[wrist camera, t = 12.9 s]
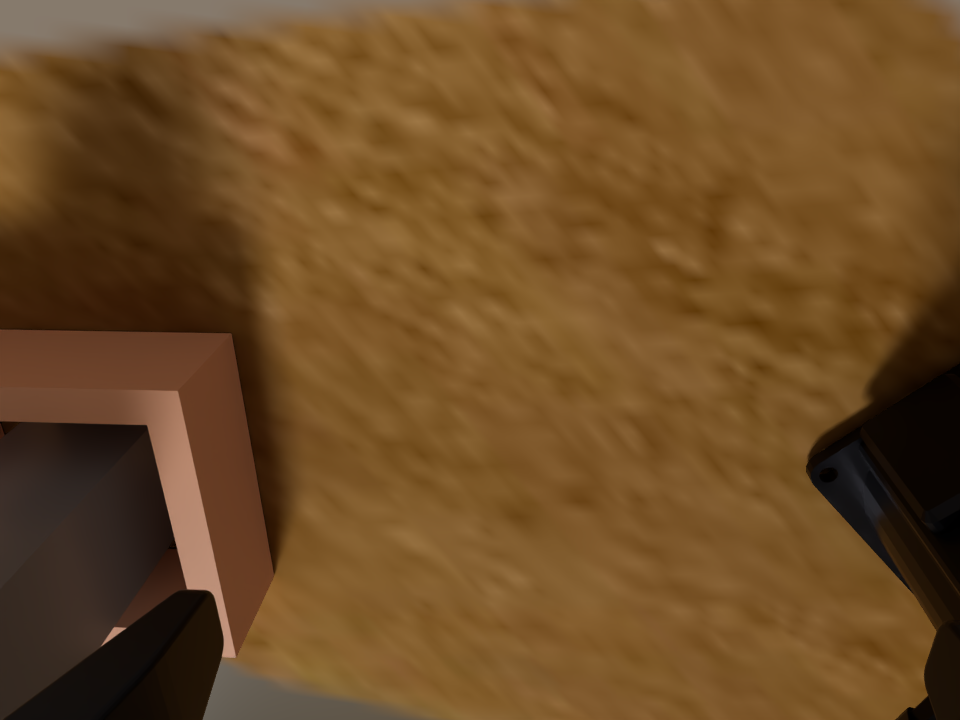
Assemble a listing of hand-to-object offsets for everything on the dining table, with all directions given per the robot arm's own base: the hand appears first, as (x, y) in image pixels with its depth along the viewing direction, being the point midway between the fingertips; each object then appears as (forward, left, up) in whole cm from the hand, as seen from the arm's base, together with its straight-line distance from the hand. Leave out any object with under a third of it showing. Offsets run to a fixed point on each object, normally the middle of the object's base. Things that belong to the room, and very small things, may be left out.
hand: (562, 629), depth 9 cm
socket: (+5, +14, -12) cm, 19 cm away
